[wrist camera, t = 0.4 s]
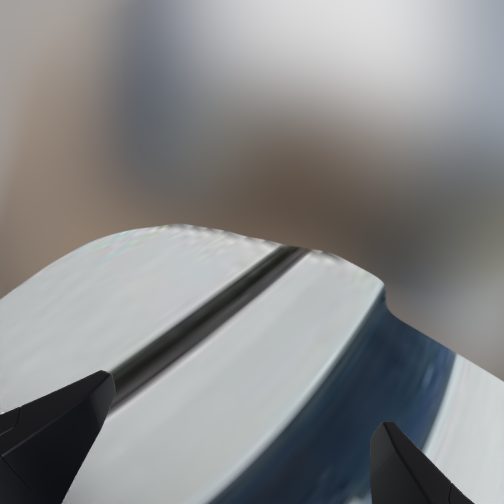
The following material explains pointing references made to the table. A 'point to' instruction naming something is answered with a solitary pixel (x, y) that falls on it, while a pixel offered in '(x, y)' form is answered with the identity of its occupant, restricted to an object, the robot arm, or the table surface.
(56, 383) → the table surface
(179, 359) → the table surface
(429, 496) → the robot arm
